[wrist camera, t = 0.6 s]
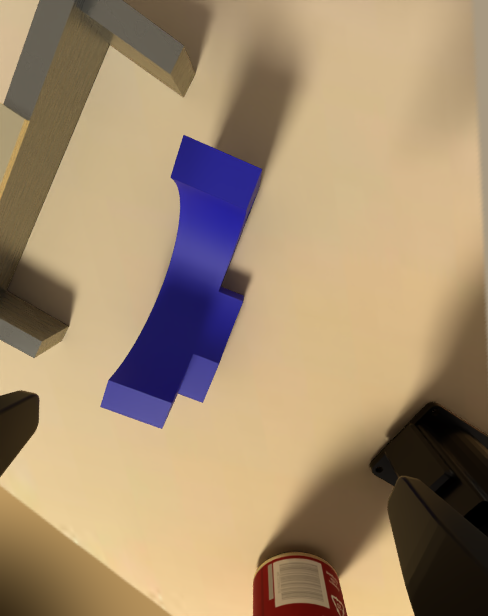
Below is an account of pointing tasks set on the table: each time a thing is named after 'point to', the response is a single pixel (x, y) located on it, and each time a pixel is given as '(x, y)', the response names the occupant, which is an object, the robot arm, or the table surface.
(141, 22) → the stop bracket
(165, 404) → the cable clip
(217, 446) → the table surface
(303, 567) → the soda can
